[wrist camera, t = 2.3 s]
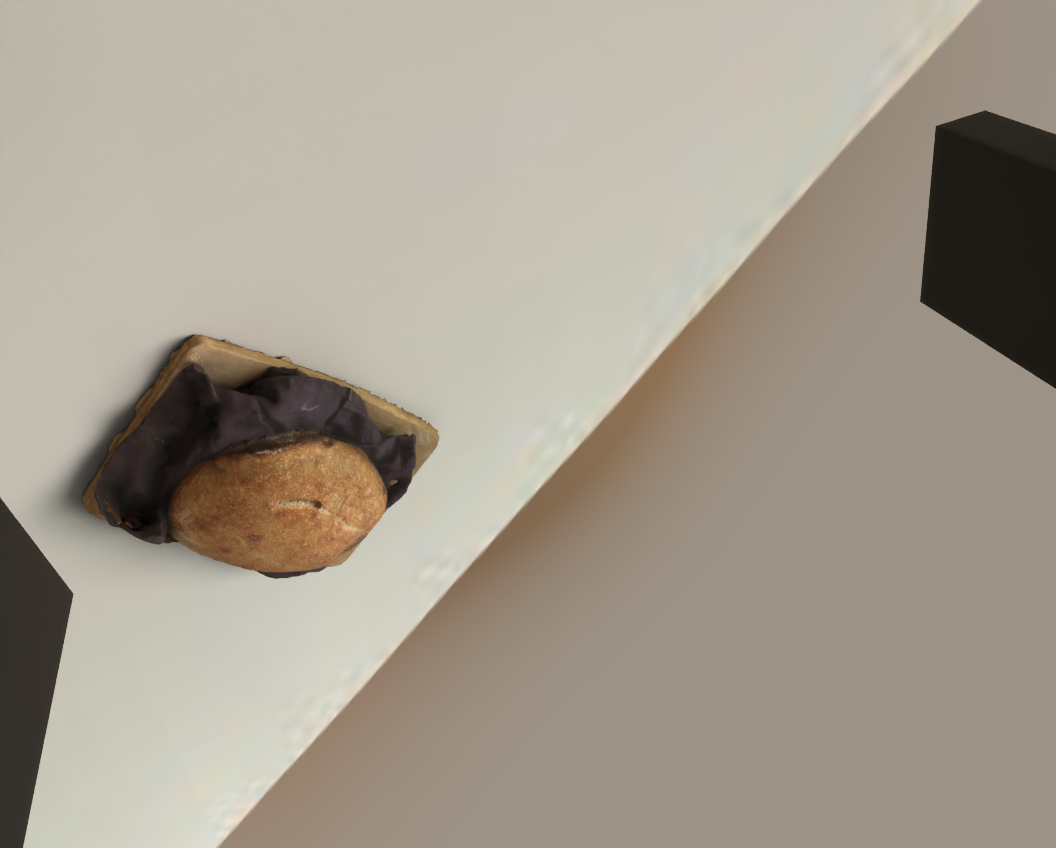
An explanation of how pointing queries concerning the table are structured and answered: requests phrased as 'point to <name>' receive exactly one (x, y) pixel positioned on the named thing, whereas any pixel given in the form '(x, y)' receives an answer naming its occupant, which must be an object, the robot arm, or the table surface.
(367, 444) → the bread roll
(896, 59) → the table surface
